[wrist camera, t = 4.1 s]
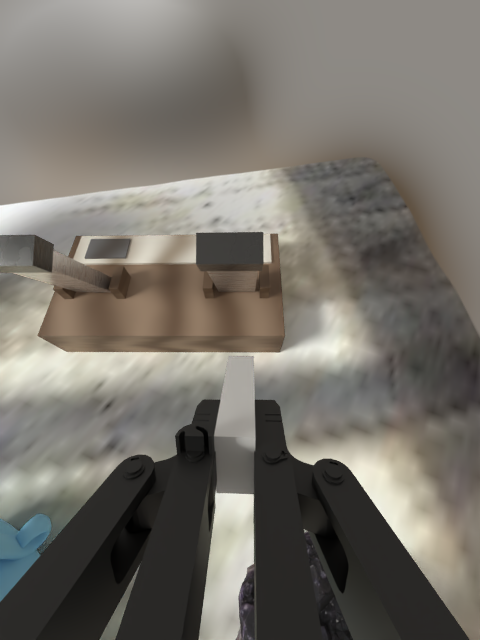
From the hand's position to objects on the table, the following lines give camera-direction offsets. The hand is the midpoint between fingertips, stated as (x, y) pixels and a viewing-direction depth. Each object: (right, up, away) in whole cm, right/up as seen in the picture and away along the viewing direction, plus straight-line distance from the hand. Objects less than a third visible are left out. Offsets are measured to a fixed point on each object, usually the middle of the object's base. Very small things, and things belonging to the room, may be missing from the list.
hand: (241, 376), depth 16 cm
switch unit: (-8, +6, +19) cm, 22 cm away
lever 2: (0, +7, +13) cm, 15 cm away
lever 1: (-16, +7, +14) cm, 23 cm away
